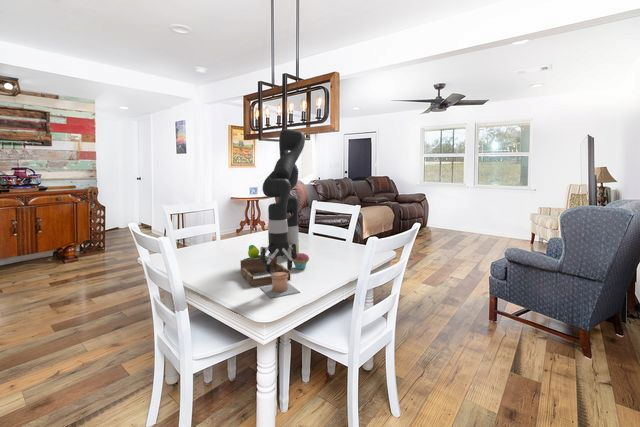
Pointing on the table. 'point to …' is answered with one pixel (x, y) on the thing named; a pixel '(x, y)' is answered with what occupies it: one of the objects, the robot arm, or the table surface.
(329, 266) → the table surface
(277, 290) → the peach round knob
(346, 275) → the table surface
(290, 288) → the gray square base plate
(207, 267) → the table surface
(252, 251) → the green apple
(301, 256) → the cupcake
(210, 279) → the table surface
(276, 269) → the frame
